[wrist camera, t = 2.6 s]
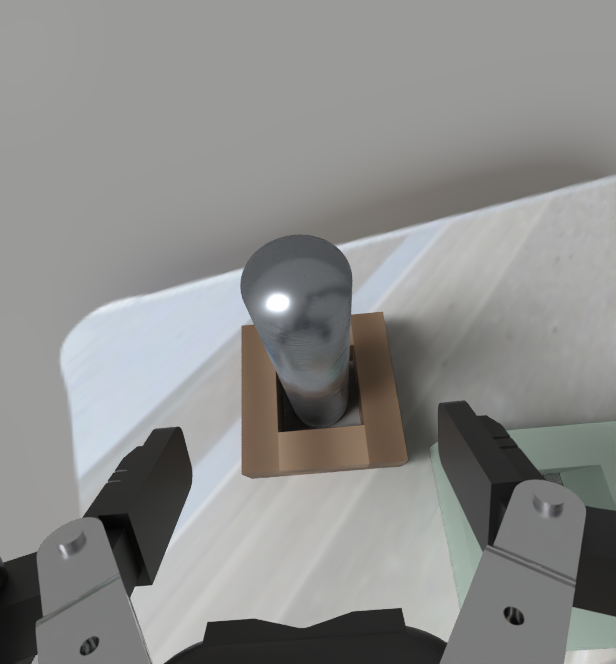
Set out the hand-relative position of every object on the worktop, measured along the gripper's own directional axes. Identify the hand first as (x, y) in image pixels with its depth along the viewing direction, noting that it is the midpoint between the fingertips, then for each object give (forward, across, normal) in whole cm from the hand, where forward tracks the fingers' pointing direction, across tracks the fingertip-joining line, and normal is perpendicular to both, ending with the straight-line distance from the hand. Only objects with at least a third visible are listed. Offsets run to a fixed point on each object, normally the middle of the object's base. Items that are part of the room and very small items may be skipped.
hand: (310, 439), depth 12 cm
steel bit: (+15, 0, +7) cm, 16 cm away
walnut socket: (+15, 0, +7) cm, 16 cm away
